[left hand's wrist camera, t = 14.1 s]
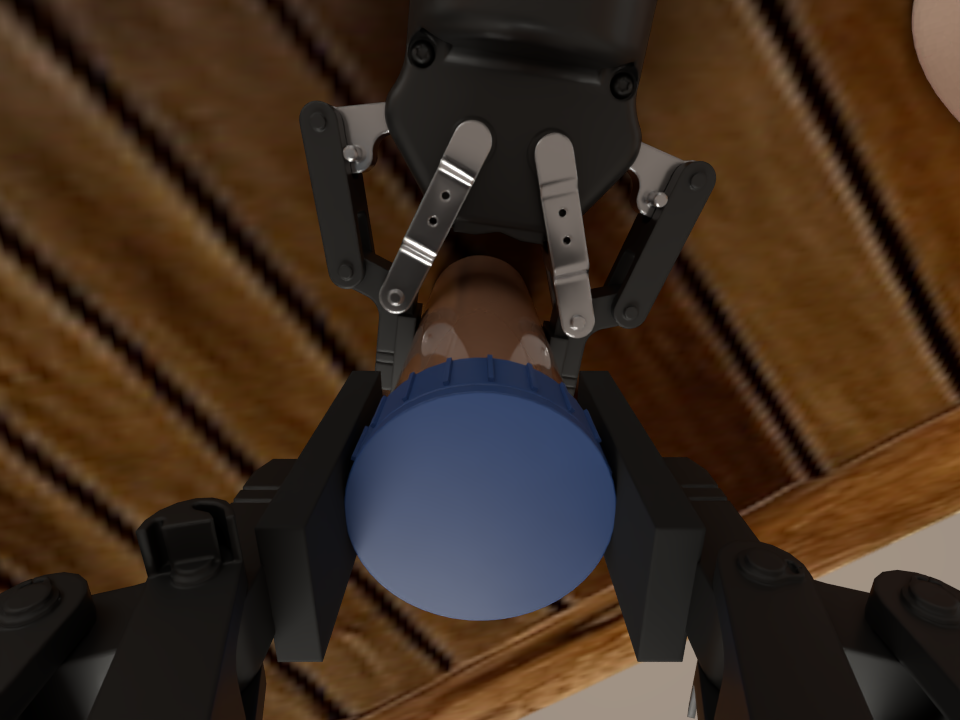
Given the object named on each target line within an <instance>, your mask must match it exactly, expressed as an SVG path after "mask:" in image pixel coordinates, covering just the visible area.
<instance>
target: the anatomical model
mask: <svg viewBox="0 0 960 720" xmlns="http://www.w3.org/2000/svg"><path fill="white" fill-rule="evenodd" d="M912 33H913V40H914V46H915V50H916V53H917V56H918V59H919V62H920V64H921V66H922V69H923V71H924V73H925V76H926V78H927V79H928V81H929V83H930V84H931V86H932V88H933V89H934V91H935V93H936V94H937V96H938V97H939V98H940V99H941V101H942V102H943V103H944V104H945V106H946V107H947V108H948V110H949V111H950V112H951V113H952V114H953V115H954V116H955V118H956V119H957V120H958V121H959V122H960V0H914V2H913V10H912Z"/></svg>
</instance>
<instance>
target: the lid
mask: <svg viewBox="0 0 960 720" xmlns="http://www.w3.org/2000/svg"><path fill="white" fill-rule="evenodd" d="M599 442H601V439H600V436H599V434H598V432H597V430H596V427H595V425H594V423H593V421H592V418H591V416H590V414H589V412H588V410H587V409H585V410H584V411H583V409H582V408H581V407H580V405H579V404H578V402H577V401H576V400H575V399H574V398H573V396H572V395H571V394H570V393H569V392H568V390H567V388H566V385H565V384H564V383H563V382H561V383H560V384H558V383H557V382H556V381H555V380H553V379H552V378H550V377H548V376H547V375H545V374H543V373H542V372H540V371H538V370H535V369H533V367H532V364H530V363H527V365H523V364H519V363H516V362H513V361H509V360H502V359H496V358H493V355H489V354H488V355H487V358H477V357H476V358H465V359H457V360H453V361H452V358H447V360H446V362H444V363H441V364H438V365H435V366H432V367H430V368H427V369H425V370H423V371H421V372H419V373H417V374H415V372H412V373H410V375H409V378H408V380H406V381H405V382H403V383H402V384H401V385H400V386H398V387H397V388H396V389H395V390H394V391H393V392H392V393H391V394H390V395H389V396H388V397H386V396H385V395H384V396H383V397H382V398H381V401H380V403H379V405H378V408H377V410H376V412H375V415H374V417H373V419H372V421H371V423H370V426H369V427H368V426H365V427H364V430H363V432H362V434H361V436H360V439H359V441H358V443H357V445H356V448H355V450H354V452H353V454H352V457H351V460H352V461H354V463H353V466H352V468H351V470H350V473H349V476H348V480H347V484H346V488H345V496H344V506H345V516H346V525H347V531H348V535H349V537H350V540H351V543H352V545H353V548H354V550H355V552H356V553H357V555H358V557H359V559H360V560H361V562H362V563H363V565H364V566H365V567H366V569H367V570H368V571H369V573H370V574H371V575H372V576H373V577H374V578H375V579H376V580H377V581H378V582H379V583H380V584H381V585H382V586H384V587H385V588H386V589H387V590H389V591H390V592H391V593H392V594H394V595H396V596H397V597H399V598H400V599H402V600H404V601H405V602H407V603H409V604H411V605H413V606H415V607H418V608H420V609H422V610H425V611H428V612H431V613H434V614H437V615H441V616H445V617H450V618H456V619H464V620H497V619H505V618H510V617H516V616H520V615H523V614H527V613H530V612H533V611H536V610H538V609H541V608H543V607H545V606H548V605H550V604H551V603H553V602H555V601H557V600H559V599H561V598H562V597H564V596H565V595H566V594H568V593H569V592H571V591H572V590H574V589H575V588H576V587H577V586H578V585H579V584H580V583H581V582H583V581H584V580H585V579H586V578H587V576H588V575H589V574H590V573H591V572H592V571H593V570H594V568H595V567H596V566H597V564H598V563H599V561H600V559H601V558H602V556H603V555H604V553H605V551H606V549H607V546H608V544H609V542H610V539H611V536H612V533H613V528H614V519H615V509H616V491H615V485H614V480H613V477H612V471H611V468H610V466H609V464H608V461H607V459H606V457H605V455H604V452H603V450H602V448H601V445H600V443H599Z"/></svg>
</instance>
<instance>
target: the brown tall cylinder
mask: <svg viewBox="0 0 960 720" xmlns="http://www.w3.org/2000/svg"><path fill="white" fill-rule="evenodd" d="M488 354H489V355H493V358H496V359H502V360H509V361H513V362H516V363H519V364H523V365H527V363H530V364H532V367H533V369H535V370H538V371H540V372H542V373H543V374H545V375H547V376H548V377H550V378H552V379H553V380H555V381H556V382H557V383H558V384H560V383H561V382H563V383H564V381H563V379H562V376H561V373H560V371H559V368H558V366H557V363H556V361H555V358H554V356H553V353H552V350H551V348H550V345H549V343H548V340H547V338H546V335H545V332H544V330H543V327H542V325H541V322H540V320H539V317H538V315H537V312H536V309H535V307H534V304H533V302H532V299H531V297H530V294H529V292H528V289H527V286H526V284H525V282H524V280H523V279H522V277H521V276H520V274H519V273H518V272H517V271H516V270H515V269H514V268H513V267H512V266H510V265H509V264H508V263H506V262H504V261H502V260H500V259H498V258H494V257H491V256H483V255H477V256H470V257H465V258H463V259H460V260H458V261H456V262H454V263H452V264H451V265H450V266H448V267H447V268H446V269H445V270H444V271H443V272H442V273H441V275H440V276H439V277H438V279H437V280H436V282H435V284H434V287H433V289H432V292H431V294H430V297H429V300H428V302H427V305H426V307H425V310H424V312H423V315H422V318H421V320H420V323H419V325H418V328H417V330H416V333H415V336H414V338H413V341H412V343H411V346H410V349H409V351H408V354H407V356H406V359H405V361H404V364H403V367H402V369H401V372H400V374H399V377H398V379H397V382H396V385H395V387H394V390H395V389H396V388H397V387H398V386H400V385H401V384H402V383H403V382H405V381H406V380H408V378H409V375H410V373H412V372H415V374H417V373H419V372H421V371H423V370H425V369H427V368H430V367H432V366H435V365H438V364H441V363H444V362H446V360H447V358H452V361H453V360H457V359H465V358H476V357H477V358H487V355H488ZM394 390H393V391H394Z"/></svg>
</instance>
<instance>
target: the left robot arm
mask: <svg viewBox="0 0 960 720" xmlns="http://www.w3.org/2000/svg"><path fill="white" fill-rule="evenodd" d="M381 398H382V383H381V371H352V373H351V374H350V376H349V377H348V379H347V381H346V382H345V384H344V385H343V387H342V389H341V390H340V392H339V393H338V395H337V397H336V398H335V400H334V401H333V403H332V405H331V406H330V408H329V409H328V411H327V413H326V414H325V416H324V417H323V419H322V421H321V422H320V424H319V425H318V427H317V429H316V430H315V432H314V433H313V435H312V437H311V438H310V440H309V441H308V443H307V445H306V446H305V448H304V449H303V451H302V453H301V454H300V456H299V457H298V459H273V460H271V461H270V462H268V463H267V464H265V465H264V466H262V467H261V468H259V469H258V470H256V471H255V472H254V473H253V474H252V475H251V477H250V478H249V480H248V481H247V482H246V484H245V485H244V486H243V490H240V492H239V493H238V494H237V496H236V497H235V498H234V502H233V503H231V504H229V503H228V502H227V501H225V500H220V499H216V498H195V499H191V500H187V501H183V502H179V503H176V504H173V505H171V506H169V507H166V508H164V509H162V510H159V511H158V512H157V513H155V514H154V515H152V516H151V517H149V518H148V519H146V520H145V521H144V522H143V523H142V524H141V526H140V527H139V528H138V529H137V531H136V535H137V539H138V542H139V546H140V550H141V553H142V557H143V561H144V564H145V568H146V572H147V575H148V578H147V581H146V582H145V583H142V584H138V585H135V586H130V587H126V588H121V589H117V590H112V591H108V592H103V593H99V594H94V595H91V593H90V589H89V586H88V583H87V581H86V580H85V579H84V578H83V577H81V576H80V575H79V574H73V573H66V572H62V573H55V574H48V575H43V576H40V577H36V578H34V579H30V580H27V581H25V582H22V583H20V584H18V585H16V586H14V587H12V588H10V589H9V590H7V591H5V592H3V593H1V594H0V720H262V718H263V709H264V700H265V691H266V678H265V671H264V665H263V660H264V658H265V656H266V654H267V651H268V649H269V647H270V644H271V642H272V640H273V638H274V643H275V648H276V654H277V659H278V662H323V659H324V656H325V653H326V649H327V646H328V643H329V640H330V637H331V634H332V631H333V627H334V624H335V621H336V618H337V615H338V612H339V609H340V605H341V602H342V599H343V596H344V593H345V590H346V587H347V583H348V580H349V577H350V574H351V571H352V568H353V565H354V561H355V558H356V555H357V553H356V552H355V550H354V548H353V545H352V543H351V540H350V537H349V535H348V531H347V525H346V516H345V506H344V496H345V488H346V484H347V480H348V476H349V473H350V470H351V468H352V466H353V463H354V461H352V460H351V457H352V454H353V452H354V450H355V448H356V445H357V443H358V441H359V439H360V436H361V434H362V432H363V430H364V427H365V426H368V427H369V426H370V423H371V421H372V419H373V417H374V415H375V412H376V410H377V408H378V405H379V403H380V401H381ZM578 404H579V405H580V407H581V408H582V409H583V411H584V410H585V409H587V410H588V412H589V414H590V416H591V418H592V421H593V423H594V425H595V427H596V430H597V432H598V434H599V436H600V439H601V442H599V443H600V445H601V448H602V450H603V452H604V455H605V457H606V459H607V461H608V464H609V466H610V468H611V471H612V477H613V480H614V485H615V491H616V509H615V519H614V528H613V533H612V536H611V539H610V542H609V544H608V546H607V549H606V551H605V553H604V557H605V560H606V564H607V567H608V570H609V573H610V576H611V579H612V582H613V586H614V589H615V592H616V595H617V598H618V601H619V604H620V608H621V611H622V614H623V617H624V620H625V623H626V626H627V630H628V633H629V636H630V639H631V642H632V645H633V648H634V652H635V655H636V658H637V661H638V662H682V661H683V655H684V650H685V644H686V639H687V636H688V639H689V641H690V643H691V646H692V648H693V650H694V652H695V655H696V657H697V659H698V660H697V666H696V671H695V676H694V681H693V686H692V692H691V697H690V702H689V708H688V717H691V718H695V714H696V709H697V716H698V720H960V591H959V590H957V589H955V588H953V587H951V586H950V585H948V584H946V583H944V582H942V581H940V580H938V579H935V578H932V577H928V576H926V575H922V574H919V573H915V572H908V571H901V570H893V571H886V572H882V573H881V574H880V575H878V576H877V577H876V578H875V579H874V582H873V585H872V588H871V591H870V593H867V592H863V591H858V590H853V589H849V588H845V587H840V586H836V585H831V584H827V583H823V582H820V581H816V580H813V577H812V576H811V574H810V573H809V571H808V570H807V568H806V567H805V566H804V564H802V563H801V562H800V561H799V560H797V559H796V558H795V557H793V556H792V555H791V554H790V553H788V552H786V551H784V550H781V549H779V548H777V547H775V546H773V545H770V544H766V543H763V542H760V541H759V540H758V539H757V537H756V536H755V535H754V533H753V532H752V530H751V529H750V528H749V526H748V525H747V524H746V522H745V521H744V520H743V518H742V517H741V516H740V514H739V513H738V512H737V510H736V509H735V508H734V506H733V505H732V504H731V502H730V501H727V497H726V496H725V494H724V493H723V492H722V490H721V489H720V488H718V485H717V484H716V482H715V481H714V480H713V478H712V477H711V476H710V474H709V473H708V472H707V470H705V469H704V468H702V467H701V466H699V465H698V464H696V463H695V462H694V461H692V460H691V459H689V458H688V457H661V455H660V454H659V452H658V450H657V449H656V447H655V446H654V444H653V442H652V441H651V439H650V438H649V436H648V435H647V433H646V431H645V430H644V428H643V427H642V425H641V423H640V422H639V420H638V419H637V417H636V415H635V414H634V412H633V411H632V409H631V407H630V406H629V404H628V403H627V401H626V399H625V398H624V396H623V395H622V393H621V391H620V390H619V388H618V387H617V385H616V383H615V382H614V380H613V379H612V377H611V375H610V374H609V372H608V371H580V373H579V387H578Z"/></svg>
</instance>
